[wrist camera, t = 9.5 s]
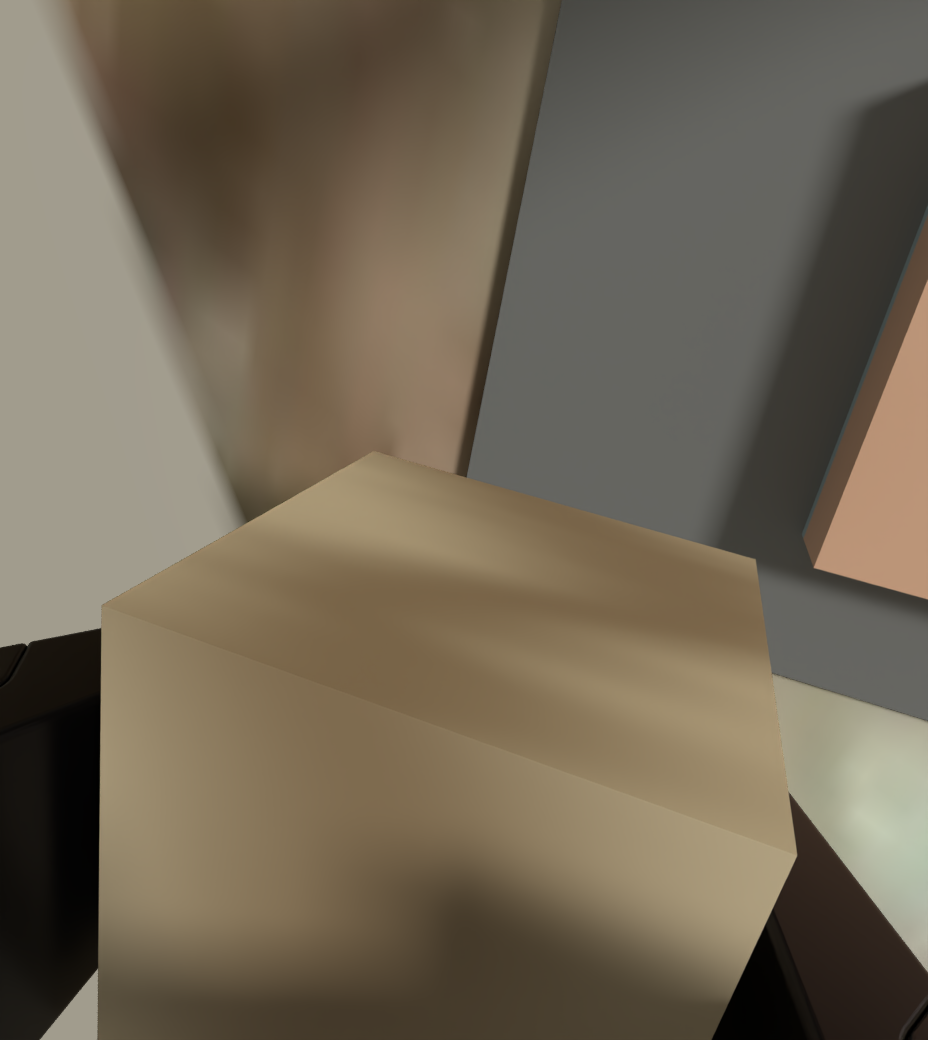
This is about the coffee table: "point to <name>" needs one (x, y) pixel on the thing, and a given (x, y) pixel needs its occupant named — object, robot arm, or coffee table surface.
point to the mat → (718, 292)
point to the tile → (883, 453)
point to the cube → (436, 775)
